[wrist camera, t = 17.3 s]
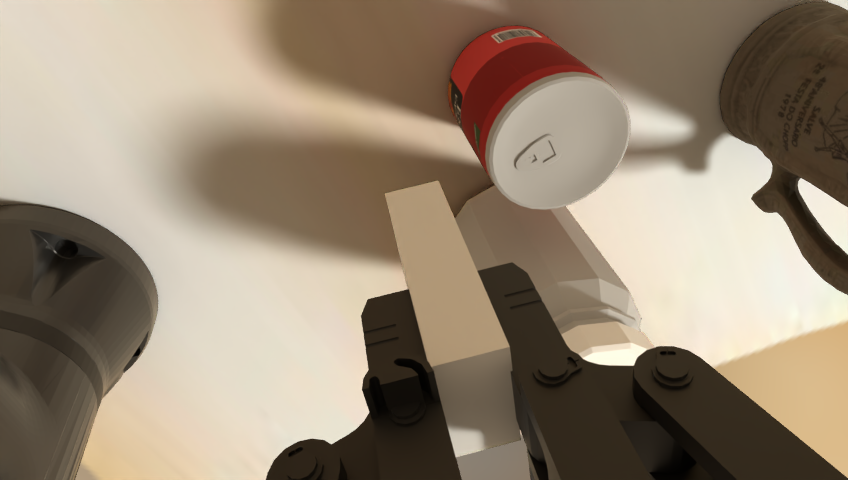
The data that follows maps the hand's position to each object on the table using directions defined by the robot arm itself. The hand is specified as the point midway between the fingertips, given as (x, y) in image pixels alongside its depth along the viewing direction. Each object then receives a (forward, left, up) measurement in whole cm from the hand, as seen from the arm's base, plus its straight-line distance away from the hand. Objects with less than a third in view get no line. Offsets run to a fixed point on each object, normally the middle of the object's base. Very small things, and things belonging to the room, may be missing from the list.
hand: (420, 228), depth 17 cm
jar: (+8, -18, -25) cm, 32 cm away
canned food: (+9, -6, -25) cm, 27 cm away
